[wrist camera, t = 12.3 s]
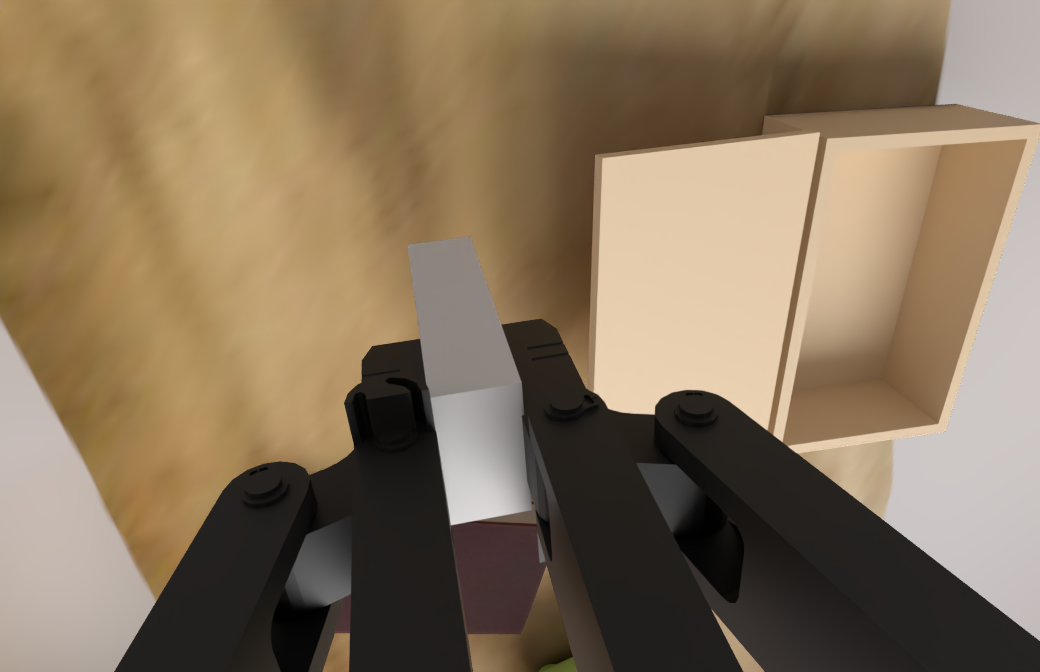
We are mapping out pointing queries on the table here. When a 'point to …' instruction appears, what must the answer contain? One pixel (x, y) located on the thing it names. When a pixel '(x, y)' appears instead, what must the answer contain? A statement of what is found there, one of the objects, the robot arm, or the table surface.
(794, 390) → the open box
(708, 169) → the lid
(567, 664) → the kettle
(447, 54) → the table surface
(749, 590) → the robot arm
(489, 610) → the book
